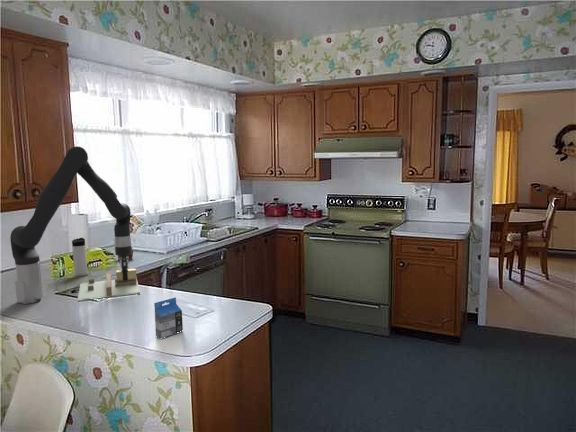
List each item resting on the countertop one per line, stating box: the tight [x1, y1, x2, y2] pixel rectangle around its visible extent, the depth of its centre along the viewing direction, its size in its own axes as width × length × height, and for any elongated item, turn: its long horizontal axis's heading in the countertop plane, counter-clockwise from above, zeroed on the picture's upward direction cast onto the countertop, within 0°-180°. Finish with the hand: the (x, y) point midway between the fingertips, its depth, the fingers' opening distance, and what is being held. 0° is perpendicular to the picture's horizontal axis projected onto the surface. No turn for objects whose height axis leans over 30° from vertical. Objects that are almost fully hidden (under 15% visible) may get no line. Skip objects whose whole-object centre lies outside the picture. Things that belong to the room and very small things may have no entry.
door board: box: [77, 272, 141, 303], centre depth 209 cm, size 26×26×5 cm
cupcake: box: [117, 245, 135, 262], centre depth 267 cm, size 10×10×10 cm
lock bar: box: [115, 268, 138, 283], centre depth 216 cm, size 9×4×6 cm, turn 112°
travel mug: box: [71, 237, 89, 278], centre depth 231 cm, size 6×7×20 cm
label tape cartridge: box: [154, 297, 184, 339], centre depth 156 cm, size 9×4×12 cm, turn 136°
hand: (125, 278), depth 216 cm, fingers closed on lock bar, 3 cm apart
